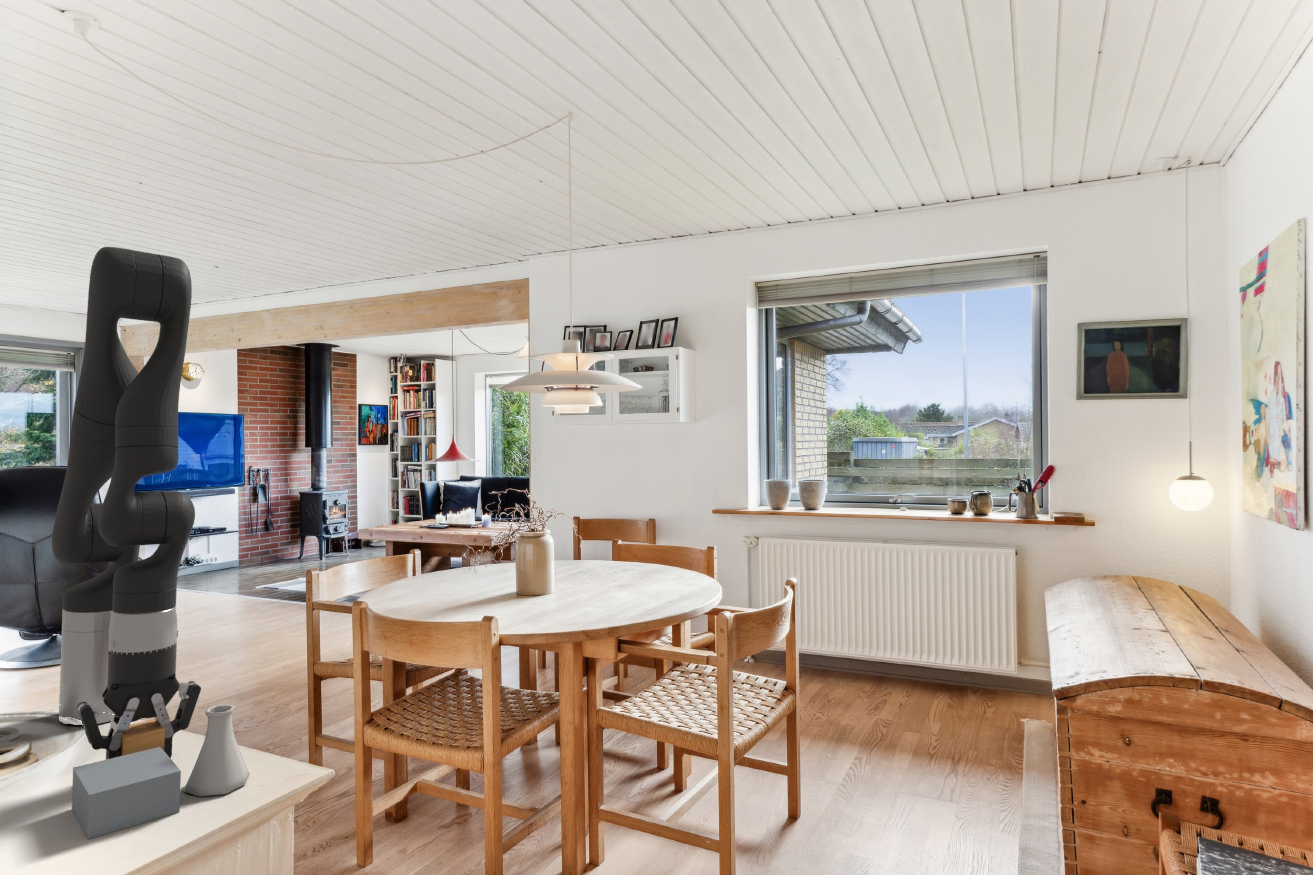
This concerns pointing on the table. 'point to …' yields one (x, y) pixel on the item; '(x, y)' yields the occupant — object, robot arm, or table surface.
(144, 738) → the orange block
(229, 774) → the flask
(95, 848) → the table surface
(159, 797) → the pedestal
